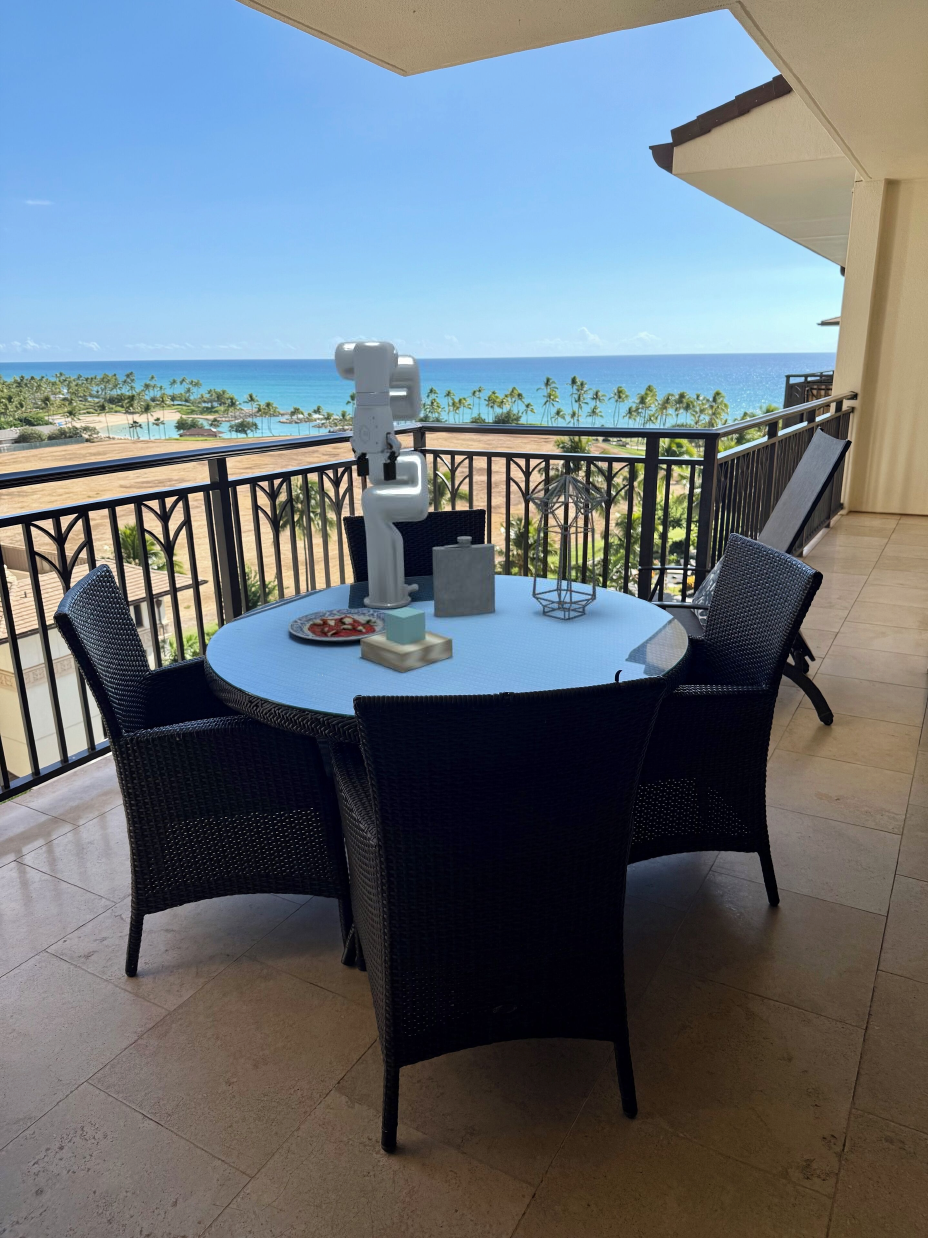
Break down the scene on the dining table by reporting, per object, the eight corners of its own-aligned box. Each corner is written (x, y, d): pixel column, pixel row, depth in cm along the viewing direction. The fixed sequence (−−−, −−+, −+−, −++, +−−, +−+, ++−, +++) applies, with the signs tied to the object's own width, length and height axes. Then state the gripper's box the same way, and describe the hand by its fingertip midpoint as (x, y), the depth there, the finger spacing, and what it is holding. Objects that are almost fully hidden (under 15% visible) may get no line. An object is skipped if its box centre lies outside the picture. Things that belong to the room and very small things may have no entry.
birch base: (410, 642, 185) (410, 625, 183) (452, 656, 175) (452, 638, 174) (361, 657, 175) (360, 639, 174) (402, 672, 166) (401, 653, 164)
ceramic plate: (293, 653, 179) (292, 640, 178) (285, 622, 203) (284, 610, 202) (407, 642, 186) (407, 629, 185) (386, 613, 210) (386, 601, 209)
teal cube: (407, 633, 178) (406, 606, 176) (425, 638, 174) (424, 611, 172) (386, 639, 174) (385, 612, 172) (404, 645, 170) (403, 617, 168)
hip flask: (493, 609, 210) (492, 533, 205) (497, 613, 207) (497, 536, 201) (433, 614, 207) (431, 537, 201) (436, 618, 203) (434, 540, 197)
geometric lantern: (520, 614, 206) (522, 475, 197) (562, 604, 216) (565, 471, 207) (567, 626, 195) (571, 478, 186) (608, 614, 205) (614, 474, 196)
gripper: (335, 400, 183) (340, 476, 188) (384, 402, 171) (387, 483, 176) (362, 398, 188) (366, 473, 193) (411, 400, 176) (413, 479, 181)
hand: (376, 478), depth 185 cm, fingers open, 9 cm apart
